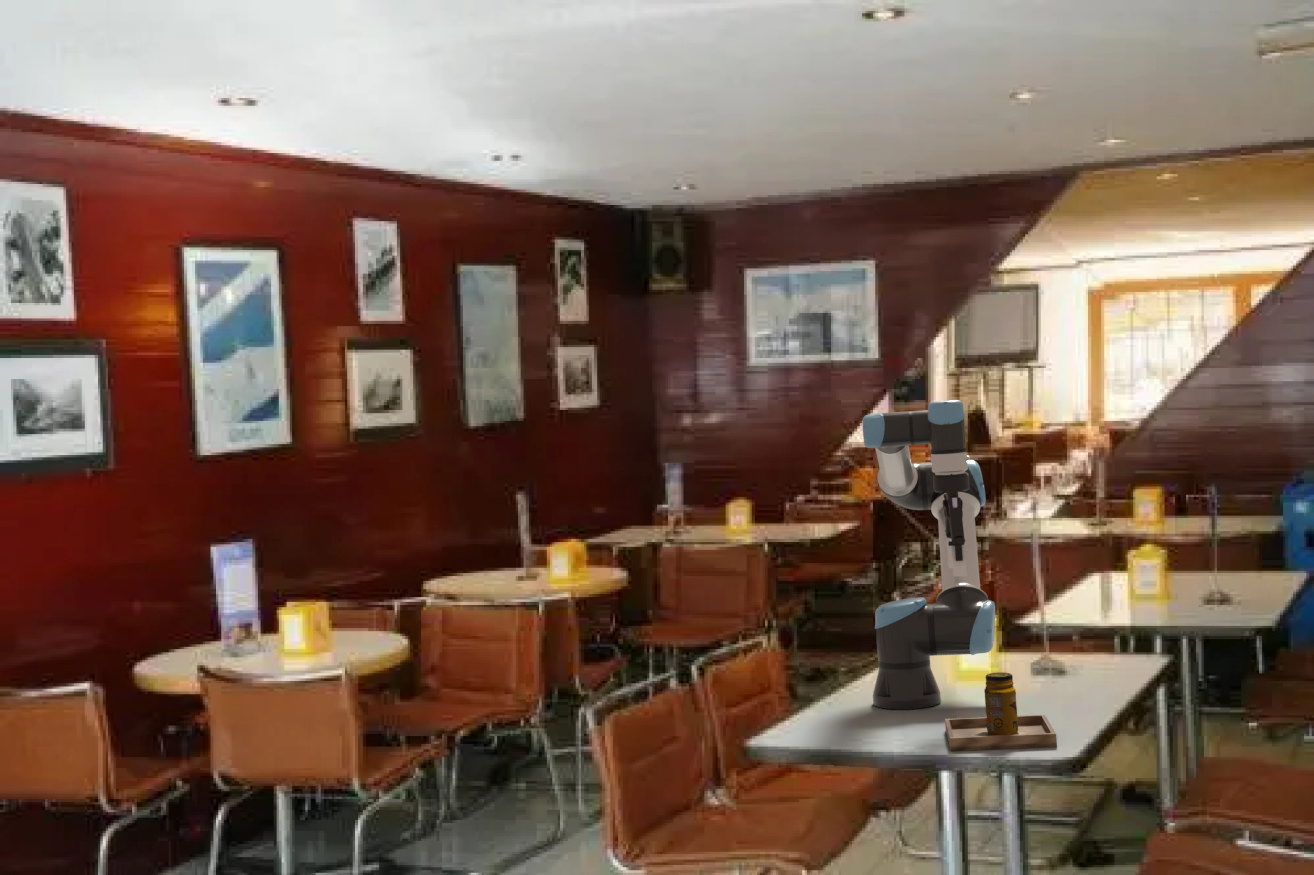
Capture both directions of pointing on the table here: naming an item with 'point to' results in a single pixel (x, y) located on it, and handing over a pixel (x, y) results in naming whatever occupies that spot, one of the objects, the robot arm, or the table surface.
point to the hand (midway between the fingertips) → (957, 572)
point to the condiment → (1000, 705)
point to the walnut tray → (1033, 725)
